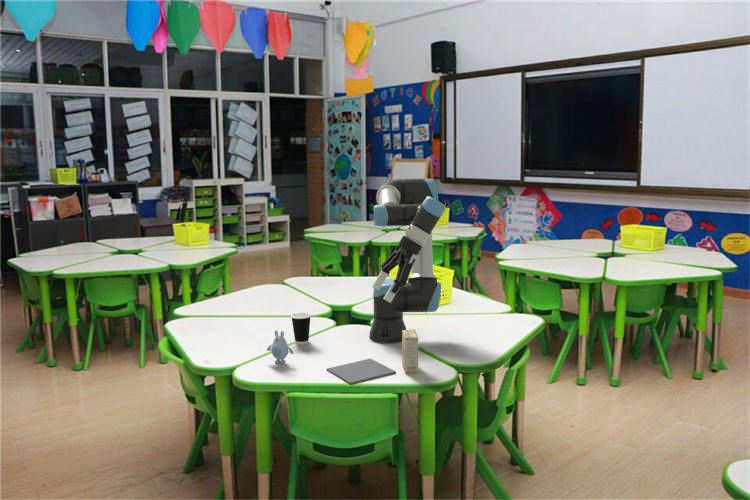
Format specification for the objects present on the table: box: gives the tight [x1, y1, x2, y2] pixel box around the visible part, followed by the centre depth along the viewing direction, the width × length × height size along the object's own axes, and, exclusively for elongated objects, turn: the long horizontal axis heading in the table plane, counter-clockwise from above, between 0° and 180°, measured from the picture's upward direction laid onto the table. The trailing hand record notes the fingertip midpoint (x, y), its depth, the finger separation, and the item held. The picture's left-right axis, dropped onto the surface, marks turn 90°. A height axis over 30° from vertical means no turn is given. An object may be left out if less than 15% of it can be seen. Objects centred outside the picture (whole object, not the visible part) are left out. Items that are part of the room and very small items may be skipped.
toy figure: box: [266, 329, 294, 365], centre depth 231 cm, size 11×6×12 cm, turn 70°
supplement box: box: [401, 329, 419, 375], centre depth 222 cm, size 8×5×13 cm, turn 5°
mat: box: [326, 358, 397, 385], centre depth 222 cm, size 18×16×1 cm
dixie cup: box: [290, 312, 312, 345], centre depth 254 cm, size 8×8×11 cm
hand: (380, 294), depth 218 cm, fingers open, 13 cm apart
